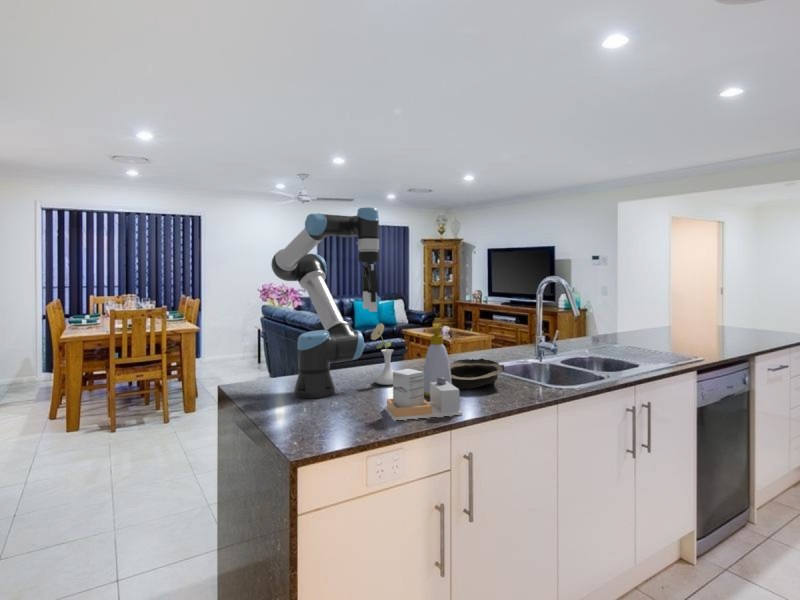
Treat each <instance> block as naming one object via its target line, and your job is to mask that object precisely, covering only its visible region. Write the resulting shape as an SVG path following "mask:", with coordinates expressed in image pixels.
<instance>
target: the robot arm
mask: <svg viewBox="0 0 800 600" xmlns="http://www.w3.org/2000/svg"><path fill="white" fill-rule="evenodd" d="M379 227H380V218H379V211H378V209H377V208H376V207H368V206H366V207H359V208H358V209H357V215H338V214H324V213H320V212H318V213H309V214H308V215H307V216H306V217H305V221H304V228H303V229H302V230H301V231H300V232H299V233H298V234H297V235H296V236H295V237H294V238H293V239H292V240H291V241H290V242H289V243H288V245H286V247H284V248H283V249H279V250H278V251H277V252H276V253H275V254H274V255H273V257H272V259H271V265H270V266H271V270H272V272H273V273H274V274H275V276H276V277H277V278H279V279H280V280H282V281H286V282H298V284H299V285H300V288H302V289H303V290H306V292H307V294H308V296H309V299H310V301H311V303H312V305H313V307H314V310H315V312H316V313H317V316H318V318H319V320H320V322H321V325H322V326H323V329H319V330H312V331H311V330H310V331H308V332H304V333H301V334H300V335H299V336H298V337H297V347H296V348H297V364H298V365H297V366H298V370H297V371H298V375H297V378H296V382H295V385H294V390H293V391H294V392H293V393H294V396H295V397H296V396H297V398H300V397H301V398H302V399H320V398H322V399H323V398H326V397H331V396H333V395H334V394H335V392H336V386H335V383H334V380H333V377H332V375H331V370H330V367H331V366H330V365H331V364H335V363H342V362H343V363H344V362H351V361H354V360H358V359H359V358H361V356H362V354H363V352H364V349H365V347H364V346H365V340H364V339H365V338H364V336H363V334H362V331H360V330H357V329H353V328H352V325H351V323H349V322H347V321H345V320H344V317H343V316H342V314H341V311H340V309H339V308H338V307H339V306H338V305H337V303H336V301H335V299H334V297H333V295H332V293H331V292H330V289H329V287H328V284H327V283H326V278H327V274H328V268H327V267H328V265H327V263H326V261H325V258H324V257H323V256H322V255H319V254H316V253H315V254H314V253H310V252H311V251H312V250H313V249H314V248H315V247H317V245H319V244H320V242H322V241H323V240H324V239H325V238H326V237H329V236H331V237H333V236H334V237H343V238H352V237H357V240H358V241H357V242H356V245H357V247H358V248H357V249H358V251H359V252H358V257H357V258H358V262H359V263H364V264H363V265H362V278H361V279H362V280H361V290H362V309H363V310H367V309H368V311H369V312H371V313H372V312H378V291H379V287H378V279H377V278H378V277H377V264H376V263H378V262H380V252H379V251H380V238H379V237H380V228H379ZM301 398H300V399H301Z"/></svg>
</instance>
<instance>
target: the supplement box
mask: <svg viewBox="0 0 800 600" xmlns="http://www.w3.org/2000/svg"><path fill="white" fill-rule="evenodd" d="M393 371H394V372H393V385H392V394H393V395H392V399H393V403H394V405H395V406H396V407H397V408H401V407H413V406H424V399H425V395H424V371H421V370H417V369H412V368H402V369H400V370H393Z"/></svg>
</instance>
